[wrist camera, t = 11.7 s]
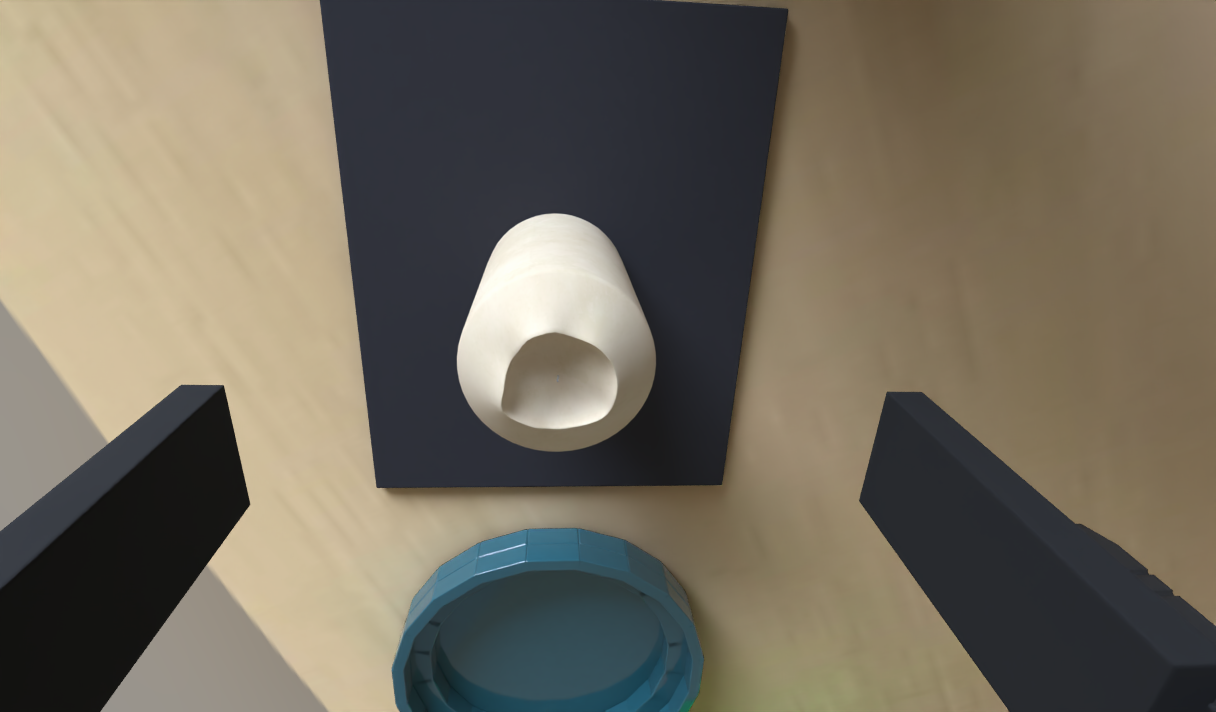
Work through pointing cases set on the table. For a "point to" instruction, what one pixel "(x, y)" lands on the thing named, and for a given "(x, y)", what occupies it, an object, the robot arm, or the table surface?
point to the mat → (550, 207)
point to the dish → (549, 630)
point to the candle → (556, 338)
